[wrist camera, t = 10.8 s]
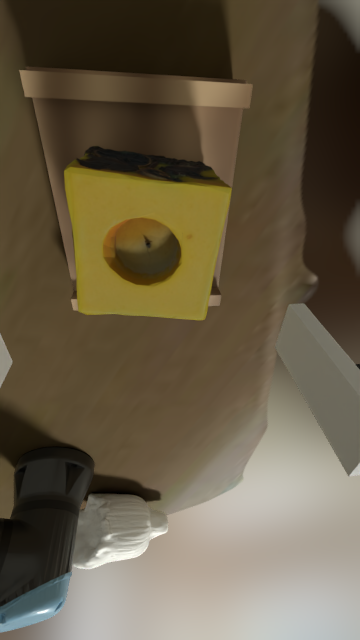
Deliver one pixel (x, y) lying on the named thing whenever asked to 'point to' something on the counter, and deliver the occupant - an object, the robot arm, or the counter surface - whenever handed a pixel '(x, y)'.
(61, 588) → the robot arm
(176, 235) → the candle
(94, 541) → the mask
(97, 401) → the counter surface
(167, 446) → the counter surface
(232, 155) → the display stand
